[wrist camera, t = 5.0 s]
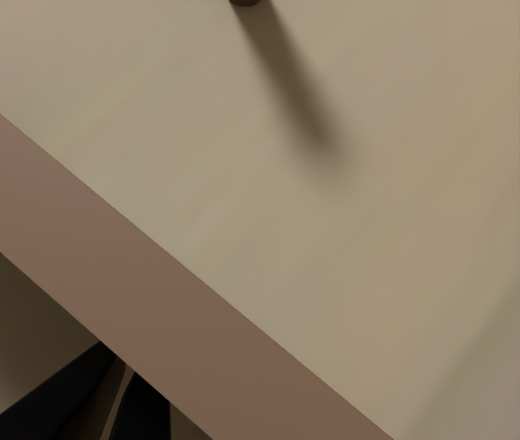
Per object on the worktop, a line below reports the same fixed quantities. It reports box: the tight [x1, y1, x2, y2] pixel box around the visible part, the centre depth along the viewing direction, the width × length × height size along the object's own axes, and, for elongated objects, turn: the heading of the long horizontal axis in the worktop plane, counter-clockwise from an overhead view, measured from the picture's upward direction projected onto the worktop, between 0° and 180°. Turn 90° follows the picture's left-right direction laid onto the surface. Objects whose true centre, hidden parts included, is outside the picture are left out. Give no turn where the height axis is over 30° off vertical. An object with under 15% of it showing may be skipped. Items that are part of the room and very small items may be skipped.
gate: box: [0, 114, 393, 440], centre depth 12 cm, size 17×2×9 cm, turn 51°
